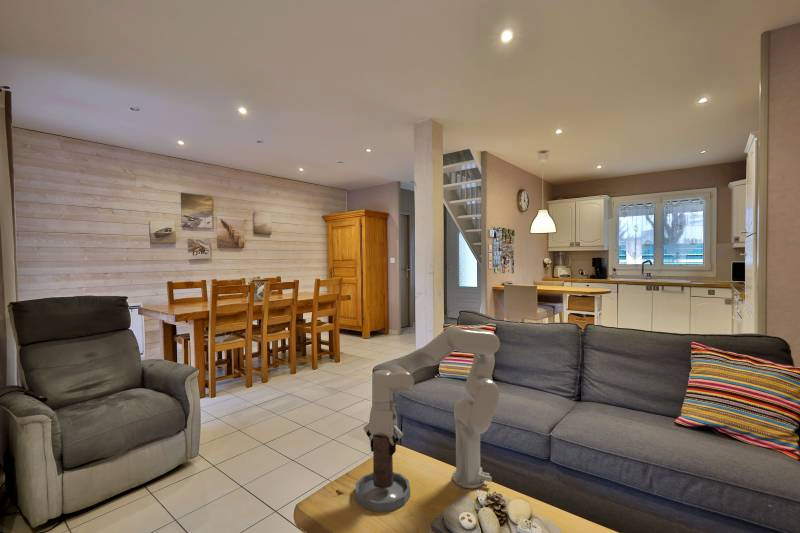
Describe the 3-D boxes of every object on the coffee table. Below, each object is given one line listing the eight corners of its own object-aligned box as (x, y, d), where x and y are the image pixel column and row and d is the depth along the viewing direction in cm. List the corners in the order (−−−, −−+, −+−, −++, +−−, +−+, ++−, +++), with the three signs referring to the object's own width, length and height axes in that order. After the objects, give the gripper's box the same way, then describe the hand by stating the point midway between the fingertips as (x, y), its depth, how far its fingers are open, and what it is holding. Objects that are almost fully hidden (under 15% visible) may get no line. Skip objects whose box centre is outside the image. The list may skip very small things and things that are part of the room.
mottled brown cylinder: (390, 493, 131) (389, 437, 131) (370, 491, 132) (370, 435, 132) (395, 481, 138) (394, 428, 138) (376, 479, 140) (375, 427, 140)
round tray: (417, 485, 140) (417, 477, 140) (395, 517, 122) (395, 508, 122) (372, 474, 148) (372, 466, 148) (345, 502, 130) (345, 494, 130)
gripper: (407, 404, 135) (408, 451, 135) (367, 397, 143) (367, 443, 142) (399, 411, 129) (400, 461, 128) (357, 404, 136) (357, 452, 135)
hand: (383, 451), depth 135 cm, fingers closed on mottled brown cylinder, 7 cm apart
